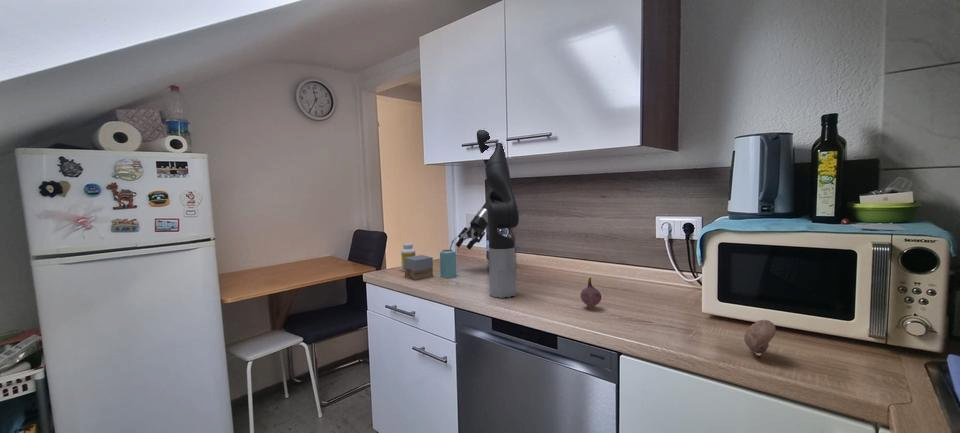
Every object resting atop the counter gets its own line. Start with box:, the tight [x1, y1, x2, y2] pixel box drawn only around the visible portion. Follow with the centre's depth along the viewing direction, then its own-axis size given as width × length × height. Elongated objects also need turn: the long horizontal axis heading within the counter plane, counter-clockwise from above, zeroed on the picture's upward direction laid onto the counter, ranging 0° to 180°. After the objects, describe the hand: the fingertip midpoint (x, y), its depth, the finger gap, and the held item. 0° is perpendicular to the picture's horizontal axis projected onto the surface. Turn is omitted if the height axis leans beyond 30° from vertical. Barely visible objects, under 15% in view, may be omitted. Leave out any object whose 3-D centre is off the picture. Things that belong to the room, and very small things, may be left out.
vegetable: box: [580, 277, 602, 308], centre depth 114 cm, size 6×6×10 cm
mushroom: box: [743, 319, 777, 354], centre depth 80 cm, size 8×6×8 cm
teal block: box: [439, 250, 457, 280], centre depth 159 cm, size 5×5×11 cm
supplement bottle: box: [400, 242, 416, 273], centre depth 174 cm, size 7×7×13 cm
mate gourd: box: [441, 236, 458, 252], centre depth 181 cm, size 8×8×15 cm
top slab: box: [404, 254, 434, 271], centre depth 160 cm, size 9×9×4 cm
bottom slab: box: [404, 267, 434, 282], centre depth 160 cm, size 9×9×4 cm
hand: (462, 247), depth 164 cm, fingers open, 8 cm apart
